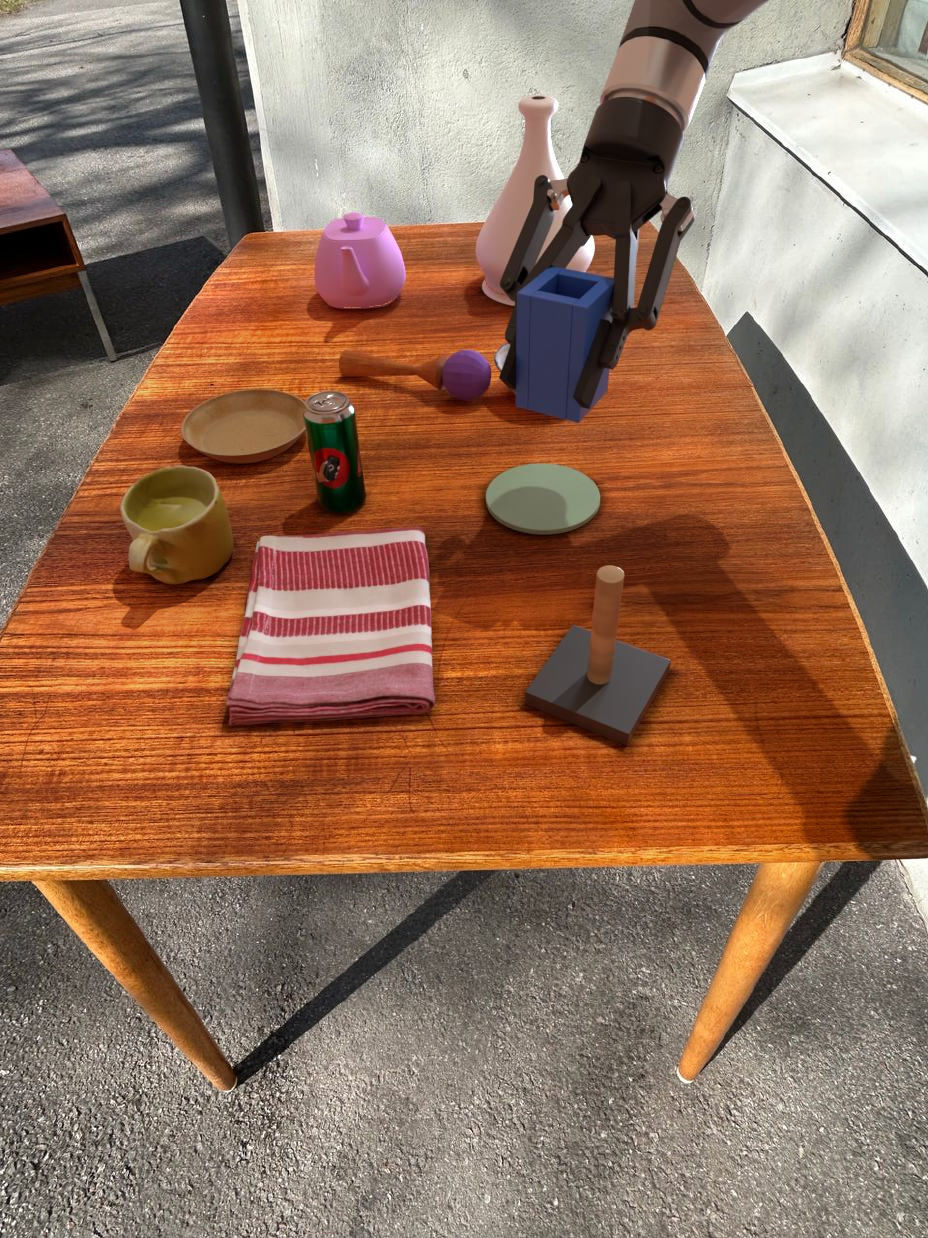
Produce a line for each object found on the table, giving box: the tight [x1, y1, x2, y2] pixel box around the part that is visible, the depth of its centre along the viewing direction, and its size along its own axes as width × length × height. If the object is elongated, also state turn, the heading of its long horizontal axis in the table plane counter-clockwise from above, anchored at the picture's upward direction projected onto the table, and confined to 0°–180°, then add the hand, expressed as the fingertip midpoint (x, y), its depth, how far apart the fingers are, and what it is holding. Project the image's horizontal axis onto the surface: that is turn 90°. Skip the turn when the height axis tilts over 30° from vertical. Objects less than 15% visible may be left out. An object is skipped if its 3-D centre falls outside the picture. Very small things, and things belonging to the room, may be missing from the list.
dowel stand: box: [524, 564, 672, 747], centre depth 68 cm, size 9×9×12 cm
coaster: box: [485, 462, 601, 536], centre depth 91 cm, size 12×12×1 cm
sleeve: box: [515, 266, 615, 424], centre depth 72 cm, size 6×6×10 cm
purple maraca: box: [338, 349, 492, 402], centre depth 108 cm, size 6×6×20 cm
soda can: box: [303, 390, 367, 515], centre depth 88 cm, size 5×5×12 cm
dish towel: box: [224, 526, 436, 727], centre depth 78 cm, size 17×23×3 cm
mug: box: [119, 464, 235, 585], centre depth 83 cm, size 12×10×10 cm
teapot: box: [313, 211, 407, 310], centre depth 125 cm, size 20×13×12 cm, turn 0°
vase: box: [474, 94, 595, 307], centre depth 123 cm, size 17×17×25 cm
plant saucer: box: [180, 388, 306, 464], centre depth 101 cm, size 15×15×3 cm
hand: (544, 392), depth 72 cm, fingers closed on sleeve, 6 cm apart
